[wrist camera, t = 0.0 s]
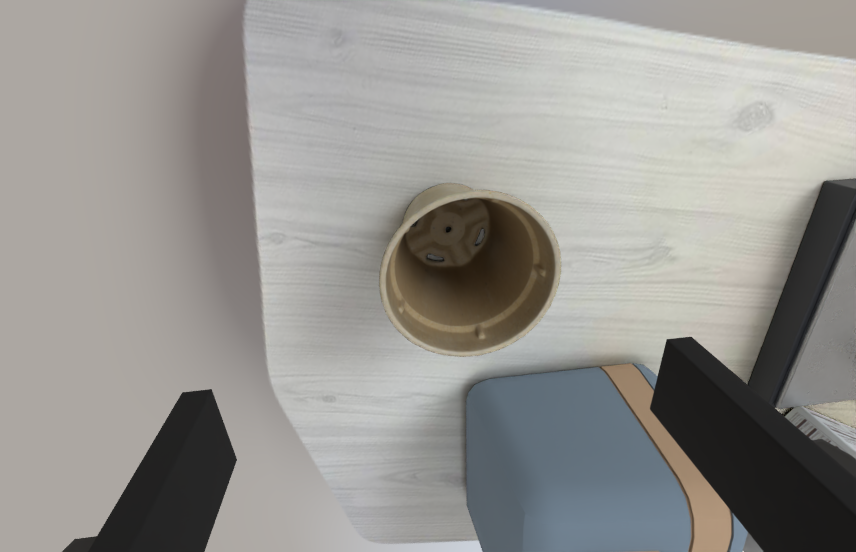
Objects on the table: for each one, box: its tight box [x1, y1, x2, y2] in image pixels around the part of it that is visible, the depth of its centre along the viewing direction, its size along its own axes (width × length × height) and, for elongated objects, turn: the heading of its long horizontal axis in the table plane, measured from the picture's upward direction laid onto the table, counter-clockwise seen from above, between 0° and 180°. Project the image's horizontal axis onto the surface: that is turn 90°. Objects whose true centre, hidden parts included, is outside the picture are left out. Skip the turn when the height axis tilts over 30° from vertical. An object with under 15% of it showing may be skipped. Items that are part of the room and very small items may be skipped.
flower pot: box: [379, 183, 561, 357], centre depth 25 cm, size 9×9×9 cm
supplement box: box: [785, 406, 856, 459], centre depth 42 cm, size 17×13×9 cm
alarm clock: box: [466, 363, 748, 552], centre depth 32 cm, size 16×16×16 cm
